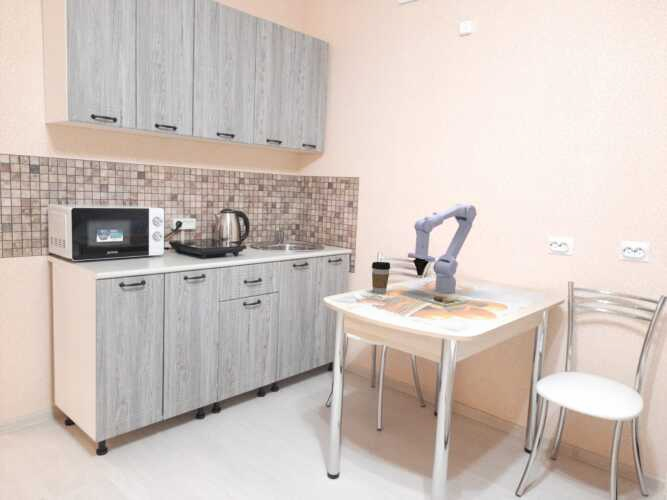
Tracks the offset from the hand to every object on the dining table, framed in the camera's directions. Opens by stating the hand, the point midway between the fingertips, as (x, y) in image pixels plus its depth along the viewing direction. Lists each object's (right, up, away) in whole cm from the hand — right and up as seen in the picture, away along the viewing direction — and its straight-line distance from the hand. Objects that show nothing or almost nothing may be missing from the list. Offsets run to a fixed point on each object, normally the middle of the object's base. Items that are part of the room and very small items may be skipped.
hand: (419, 275), depth 229 cm
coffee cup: (-19, -9, +1) cm, 21 cm away
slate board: (0, -10, -1) cm, 10 cm away
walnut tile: (+7, -11, -10) cm, 17 cm away
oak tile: (+10, -12, -13) cm, 21 cm away
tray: (+8, -12, -12) cm, 19 cm away
